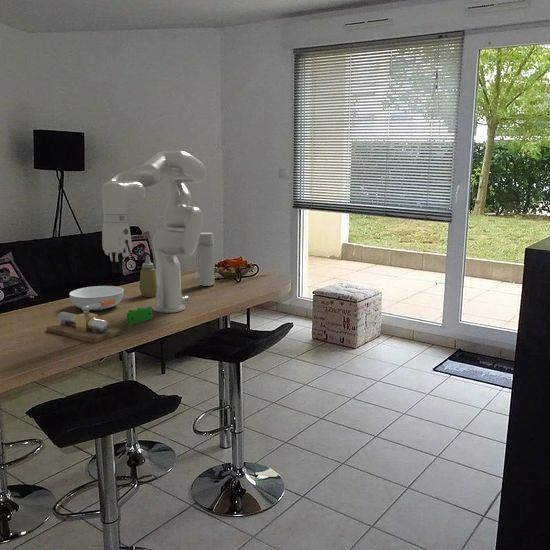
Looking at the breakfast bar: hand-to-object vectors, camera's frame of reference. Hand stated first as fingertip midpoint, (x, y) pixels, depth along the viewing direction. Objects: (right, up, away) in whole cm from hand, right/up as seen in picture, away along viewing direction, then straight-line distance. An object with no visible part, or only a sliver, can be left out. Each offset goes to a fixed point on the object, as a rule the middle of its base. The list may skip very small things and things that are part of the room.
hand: (117, 272), depth 199 cm
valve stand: (-12, -21, +1) cm, 24 cm away
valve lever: (-7, -13, +3) cm, 16 cm away
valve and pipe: (-12, -19, +1) cm, 23 cm away
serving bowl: (-17, -14, +35) cm, 42 cm away
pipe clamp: (+3, -18, +16) cm, 25 cm away
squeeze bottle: (-1, -10, +55) cm, 56 cm away
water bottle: (+21, -6, +76) cm, 79 cm away
